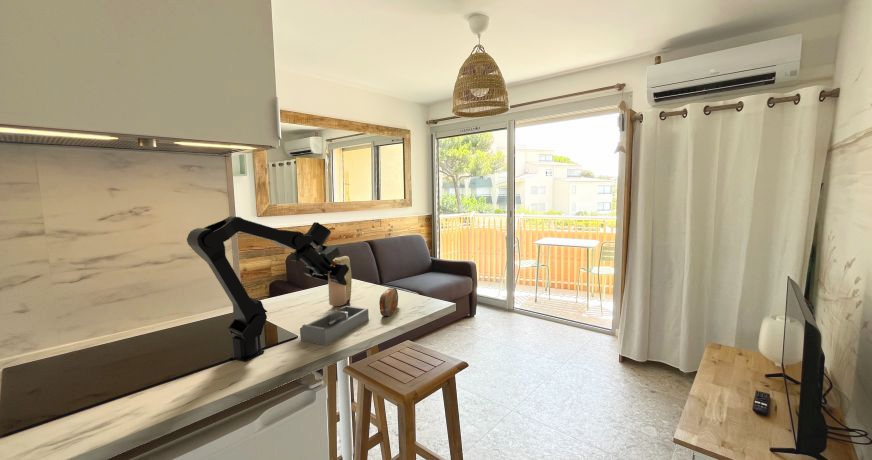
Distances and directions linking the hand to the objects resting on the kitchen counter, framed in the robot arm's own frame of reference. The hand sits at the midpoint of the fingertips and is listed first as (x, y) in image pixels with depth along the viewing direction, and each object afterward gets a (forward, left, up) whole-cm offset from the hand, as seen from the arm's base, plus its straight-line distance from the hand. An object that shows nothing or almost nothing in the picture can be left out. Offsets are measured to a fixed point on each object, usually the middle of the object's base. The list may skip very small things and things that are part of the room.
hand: (340, 282), depth 131 cm
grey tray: (-9, -5, -13) cm, 17 cm away
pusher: (-10, -5, -12) cm, 16 cm away
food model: (+13, +10, -14) cm, 22 cm away
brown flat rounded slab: (+12, -13, -14) cm, 22 cm away
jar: (-1, 0, -7) cm, 7 cm away
